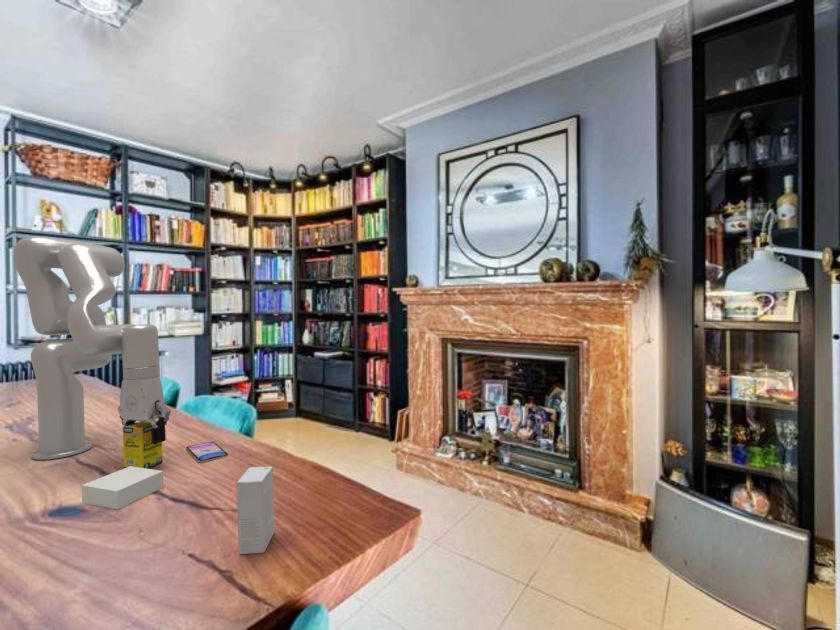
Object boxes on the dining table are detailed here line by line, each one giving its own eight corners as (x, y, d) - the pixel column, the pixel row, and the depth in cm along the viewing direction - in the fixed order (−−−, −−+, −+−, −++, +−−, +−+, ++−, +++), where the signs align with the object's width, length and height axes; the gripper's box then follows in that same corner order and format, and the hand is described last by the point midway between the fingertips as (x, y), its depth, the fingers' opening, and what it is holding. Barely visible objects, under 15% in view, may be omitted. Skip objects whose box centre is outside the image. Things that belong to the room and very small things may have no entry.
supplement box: (143, 472, 96) (141, 427, 95) (122, 470, 97) (121, 426, 97) (163, 462, 101) (162, 420, 101) (144, 461, 103) (143, 419, 102)
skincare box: (250, 533, 69) (249, 466, 69) (275, 532, 69) (273, 465, 69) (237, 555, 63) (235, 482, 63) (264, 553, 63) (263, 480, 63)
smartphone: (213, 443, 116) (213, 440, 116) (230, 457, 105) (230, 453, 105) (184, 449, 111) (184, 446, 111) (198, 465, 100) (198, 461, 100)
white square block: (82, 504, 81) (81, 485, 81) (130, 483, 90) (130, 466, 90) (117, 511, 78) (116, 491, 78) (163, 488, 88) (163, 471, 87)
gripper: (102, 375, 98) (105, 443, 98) (151, 377, 92) (155, 449, 92) (133, 370, 105) (136, 434, 105) (180, 371, 99) (183, 438, 99)
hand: (145, 441), depth 99 cm, fingers open, 9 cm apart
